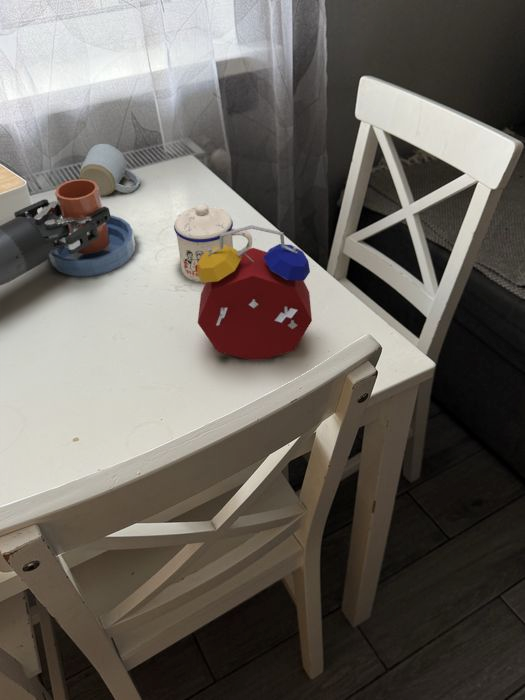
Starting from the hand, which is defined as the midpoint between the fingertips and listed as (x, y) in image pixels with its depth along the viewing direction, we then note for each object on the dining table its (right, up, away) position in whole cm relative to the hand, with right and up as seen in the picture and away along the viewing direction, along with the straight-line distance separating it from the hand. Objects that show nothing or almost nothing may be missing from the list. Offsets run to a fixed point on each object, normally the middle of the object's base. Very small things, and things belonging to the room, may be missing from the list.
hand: (93, 205), depth 97 cm
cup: (-1, -6, +3) cm, 6 cm away
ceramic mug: (-2, +8, +21) cm, 23 cm away
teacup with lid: (+20, -10, +1) cm, 23 cm away
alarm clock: (+27, -24, -14) cm, 39 cm away
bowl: (-1, -7, +5) cm, 9 cm away
